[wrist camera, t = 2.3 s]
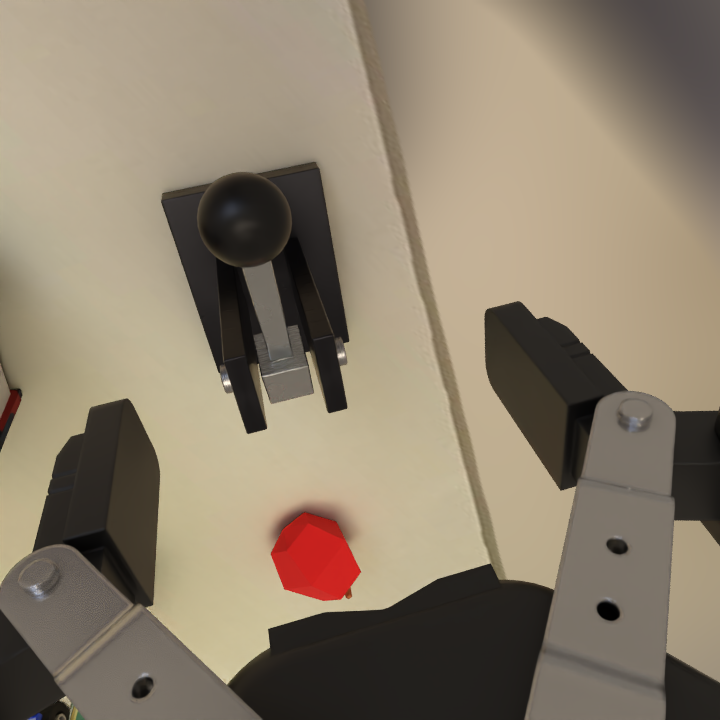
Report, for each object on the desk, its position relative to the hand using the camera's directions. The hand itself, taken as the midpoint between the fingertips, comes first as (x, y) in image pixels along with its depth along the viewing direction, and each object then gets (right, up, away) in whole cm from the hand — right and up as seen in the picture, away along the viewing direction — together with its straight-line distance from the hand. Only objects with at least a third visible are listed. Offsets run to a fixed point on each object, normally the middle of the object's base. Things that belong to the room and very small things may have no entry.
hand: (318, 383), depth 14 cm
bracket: (-5, +6, +25) cm, 26 cm away
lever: (-3, +4, +12) cm, 13 cm away
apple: (-3, -14, +39) cm, 42 cm away
